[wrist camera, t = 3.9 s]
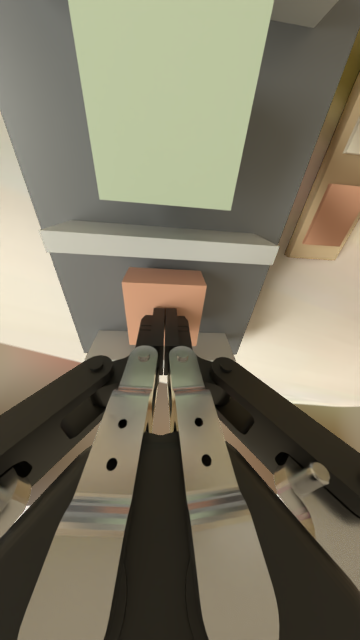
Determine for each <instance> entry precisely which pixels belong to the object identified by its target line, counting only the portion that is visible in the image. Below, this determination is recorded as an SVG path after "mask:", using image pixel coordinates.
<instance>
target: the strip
mask: <svg viewBox="0 0 360 640" xmlns="http://www.w3.org/2000/svg"><path fill="white" fill-rule="evenodd" d="M359 218H360V71H359V74H358V76H357V79H356V81H355V83H354V86H353V88H352V91H351V93H350V96H349V98H348V100H347V103H346V105H345V108H344V110H343V113H342V115H341V118H340V120H339V122H338V125H337V127H336V130H335V132H334V135H333V137H332V139H331V142H330V144H329V147H328V149H327V152H326V154H325V157H324V159H323V161H322V164H321V166H320V169H319V171H318V174H317V176H316V179H315V181H314V183H313V186H312V188H311V191H310V193H309V196H308V198H307V200H306V203H305V205H304V208H303V210H302V213H301V215H300V218H299V220H298V222H297V225H296V227H295V230H294V232H293V235H292V237H291V239H290V242H289V244H288V247H287V249H286V252H285V254H284V255H286V256H287V257H291V258H307V259H323V260H335V259H336V258H337V256H338V254H339V252H340V251H341V249H342V247H343V246H344V244H345V242H346V240H347V239H348V237H349V235H350V234H351V232H352V230H353V228H354V227H355V225H356V223H357V222H358V220H359Z"/></svg>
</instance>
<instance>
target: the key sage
mask: <svg viewBox="0 0 360 640" xmlns="http://www.w3.org/2000/svg"><path fill="white" fill-rule="evenodd" d="M273 3H274V0H68V4H69V10H70V17H71V23H72V29H73V36H74V42H75V48H76V54H77V61H78V67H79V73H80V80H81V86H82V92H83V98H84V105H85V111H86V117H87V124H88V130H89V136H90V142H91V149H92V155H93V161H94V168H95V174H96V180H97V186H98V193H99V199H100V200H111V201H123V202H135V203H147V204H158V205H170V206H182V207H194V208H206V209H217V210H229V211H231V206H232V202H233V197H234V192H235V187H236V182H237V177H238V173H239V168H240V163H241V158H242V153H243V148H244V144H245V139H246V134H247V129H248V124H249V119H250V115H251V110H252V105H253V100H254V95H255V90H256V86H257V81H258V76H259V71H260V66H261V61H262V57H263V52H264V47H265V42H266V37H267V32H268V28H269V23H270V18H271V13H272V8H273Z"/></svg>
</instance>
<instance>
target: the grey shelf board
mask: <svg viewBox="0 0 360 640" xmlns="http://www.w3.org/2000/svg"><path fill="white" fill-rule="evenodd" d="M359 28H360V0H274V3H273V8H272V13H271V18H270V23H269V28H268V32H267V37H266V42H265V47H264V52H263V57H262V61H261V66H260V71H259V76H258V81H257V86H256V90H255V95H254V100H253V105H252V110H251V115H250V119H249V124H248V129H247V134H246V139H245V144H244V148H243V153H242V158H241V163H240V168H239V173H238V177H237V182H236V187H235V192H234V197H233V202H232V206H231V211H229V210H217V209H206V208H194V207H182V206H170V205H158V204H147V203H135V202H123V201H111V200H100V199H99V193H98V186H97V180H96V174H95V168H94V161H93V155H92V149H91V142H90V136H89V130H88V124H87V117H86V111H85V105H84V98H83V92H82V86H81V80H80V73H79V67H78V61H77V54H76V48H75V42H74V36H73V29H72V23H71V17H70V10H69V4H68V0H0V111H1V114H2V117H3V120H4V123H5V126H6V128H7V131H8V134H9V137H10V140H11V143H12V146H13V149H14V152H15V154H16V157H17V160H18V163H19V166H20V169H21V172H22V175H23V177H24V180H25V183H26V186H27V189H28V192H29V195H30V198H31V201H32V203H33V206H34V209H35V212H36V215H37V218H38V221H39V224H40V226H41V230H39V233H40V236H41V238H42V241H43V244H44V247H45V250H46V252H50V255H51V258H52V261H53V264H54V267H55V270H56V273H57V275H58V278H59V281H60V284H61V287H62V290H63V293H64V296H65V299H66V301H67V304H68V307H69V310H70V313H71V316H72V319H73V322H74V324H75V327H76V330H77V333H78V336H79V339H80V342H81V345H82V348H83V350H84V353H88V354H87V356H86V358H85V361H86V360H87V359H89V358H91V357H94V356H98V355H104V356H107V357H109V358H110V359H111V360H112V361H115V360H119V359H123V358H125V357H127V356H129V355H130V353H131V351H132V350H133V349H135V346H136V345H130V344H129V336H128V328H127V321H126V313H125V305H124V297H123V289H122V280H123V278H124V276H125V274H126V272H127V270H128V268H129V267H138V268H157V269H176V270H194V271H201V273H202V275H203V278H204V280H205V283H206V285H207V288H206V294H205V299H204V305H203V311H202V316H201V322H200V328H199V333H198V339H197V344H196V346H192V349H193V351H194V352H195V354H196V355H197V356H198V357H200V358H202V359H205V360H208V361H212V362H213V361H214V360H215V359H216V358H219V357H226V358H230V359H232V360H234V361H236V360H235V357H234V355H233V354H237V352H238V349H239V346H240V344H241V341H242V338H243V336H244V333H245V330H246V328H247V325H248V322H249V320H250V317H251V315H252V312H253V309H254V307H255V304H256V301H257V299H258V296H259V293H260V291H261V288H262V285H263V283H264V280H265V277H266V275H267V272H268V269H269V267H270V265H273V263H274V260H275V257H276V255H277V252H278V250H279V247H280V246H278V243H279V240H280V238H281V235H282V232H283V230H284V227H285V224H286V222H287V219H288V216H289V214H290V211H291V208H292V206H293V203H294V200H295V198H296V195H297V192H298V190H299V187H300V184H301V182H302V179H303V177H304V174H305V171H306V169H307V166H308V163H309V161H310V158H311V155H312V153H313V150H314V147H315V145H316V142H317V139H318V137H319V134H320V131H321V129H322V126H323V123H324V121H325V118H326V115H327V113H328V110H329V108H330V105H331V102H332V100H333V97H334V94H335V92H336V89H337V86H338V84H339V81H340V78H341V76H342V73H343V70H344V68H345V65H346V62H347V60H348V57H349V54H350V52H351V49H352V47H353V44H354V41H355V39H356V36H357V33H358V31H359ZM164 352H165V346H164V351H163V368H164Z"/></svg>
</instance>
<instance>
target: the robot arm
mask: <svg viewBox="0 0 360 640" xmlns="http://www.w3.org/2000/svg"><path fill="white" fill-rule="evenodd" d="M164 317H165V352H164V375H168V382H167V391H168V405H169V417H170V433H169V434H165V435H156V434H152V430H153V419H154V412H155V404H156V397H157V390H158V384H159V375H163V351H164ZM218 418H219V419H220V420H221V421H222V422H223V423H224V424H225V425H226V426H227V427H228V428H229V430H230V431H232V433H233V434H234V435H235V436H236V437H237V438H238V439H239V440H240V441H241V442H242V443H243V444H244V445H245V446H246V447H247V448H248V449H249V450H250V451H251V452H252V453H253V454H254V455H255V456H256V457H257V458H258V459H259V460H260V461H261V462H262V463H263V464H264V465H265V466H266V467H267V469H269V471H270V472H271V473H272V474H273V475H274V483H275V487H276V490H277V492H278V495H279V497H280V498H281V499H282V500H283V502H284V503H285V504H286V505H287V506H286V505H285V504H284V503H283V502H282V501H281V499H280V498H279V497H278V496H277V495H276V494H275V493H274V491H273V490H272V489H271V488H270V487H269V486H268V485H267V484H266V482H265V481H264V480H263V479H262V478H261V477H260V476H259V475H258V473H257V472H256V471H255V470H254V469H253V468H252V467H251V465H250V464H249V463H248V462H247V461H246V460H245V458H244V457H243V456H242V455H241V454H240V453H239V452H238V451H237V450H236V449H235V448H234V447H233V446H232V445H231V444H229V443H228V442H227V441H225V440H224V436H223V433H222V429H221V426H220V422H219V419H218ZM101 420H102V421H101ZM100 421H101V424H100V426H99V429H98V432H97V434H96V437H95V440H94V443H93V445H91V446H90V447H89V448H87V449H86V450H85V451H83V452H82V453H81V454H80V455H79V456H78V457H77V458H76V459H75V460H74V461H73V462H72V463H71V464H70V465H69V466H68V467H67V468H66V469H65V470H64V471H63V472H62V473H61V474H60V475H59V477H58V478H57V479H56V480H55V481H54V482H53V483H52V484H51V485H50V486H49V487H48V488H47V489H46V490H45V491H44V492H43V494H41V496H40V497H39V498H38V499H37V500H36V501H35V502H34V503H33V504H32V505H31V506H30V507H29V508H28V509H27V510H26V511H25V512H24V514H23V515H22V516H21V517H20V518H19V519H18V520H17V518H18V517H19V516H20V515H21V514H22V513H23V511H24V510H25V507H26V505H27V503H28V501H29V498H30V494H31V487H32V486H33V485H34V484H35V483H36V482H37V481H39V479H41V478H42V477H43V476H44V475H45V474H46V473H47V472H48V471H49V470H50V469H51V468H52V467H53V466H54V465H55V464H56V463H57V462H58V461H59V460H61V459H62V457H64V456H65V455H66V454H67V453H68V452H69V451H70V450H71V449H72V448H73V447H74V446H75V445H76V444H77V443H78V442H79V441H80V440H82V438H84V437H85V436H86V435H87V434H88V433H89V432H90V431H91V430H92V429H93V428H94V427H95V426H96V425H97V424H98V423H99V422H100ZM288 508H289V509H288ZM16 520H17V521H16ZM15 521H16V522H15ZM14 522H15V523H14ZM13 523H14V524H13ZM12 524H13V525H12ZM11 525H12V526H11ZM0 640H360V453H359V452H357V451H356V450H355V449H353V448H352V447H350V446H349V445H348V444H346V443H345V442H344V441H342V440H341V439H340V438H338V437H337V436H335V435H334V434H333V433H331V432H330V431H329V430H327V429H326V428H325V427H323V426H322V425H321V424H319V423H318V422H316V421H315V420H314V419H312V418H311V417H310V416H308V415H307V414H306V413H304V412H303V411H301V410H300V409H299V408H297V407H296V406H295V405H293V404H292V403H291V402H289V401H288V400H287V399H285V398H284V397H283V396H281V395H280V394H278V393H277V392H276V391H274V390H273V389H272V388H270V387H269V386H268V385H266V384H265V383H264V382H262V381H261V380H259V379H258V378H257V377H255V376H254V375H253V374H251V373H250V372H249V371H247V370H246V369H245V368H243V367H242V366H240V365H239V364H238V363H236V362H235V361H234V360H232V359H230V358H226V357H219V358H216V359H215V360H214V361H213V362H212V361H208V360H205V359H202V358H200V357H198V356H197V355H196V354H195V352H194V351H193V349H192V342H191V336H190V329H189V323H188V320H187V319H186V318H185V316H177V308H166V315H165V308H154V309H153V315H145V316H144V317H143V318H142V319H141V322H140V327H139V332H138V337H137V341H136V346H135V349H133V350H132V351H131V353H130V355H129V356H127V357H125V358H123V359H119V360H115V361H112V360H111V359H110V358H109V357H107V356H104V355H98V356H94V357H91V358H89V359H87V360H86V361H84V362H83V363H81V364H80V365H78V366H76V367H75V368H73V369H72V370H70V371H69V372H67V373H66V374H64V375H62V376H61V377H59V378H58V379H56V380H55V381H53V382H52V383H50V384H49V385H47V386H45V387H44V388H42V389H41V390H39V391H37V392H36V393H34V394H33V395H31V396H30V397H28V398H27V399H25V400H23V401H22V402H20V403H19V404H17V405H16V406H14V407H12V408H11V409H10V410H8V411H6V412H5V413H3V414H2V415H0Z"/></svg>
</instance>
